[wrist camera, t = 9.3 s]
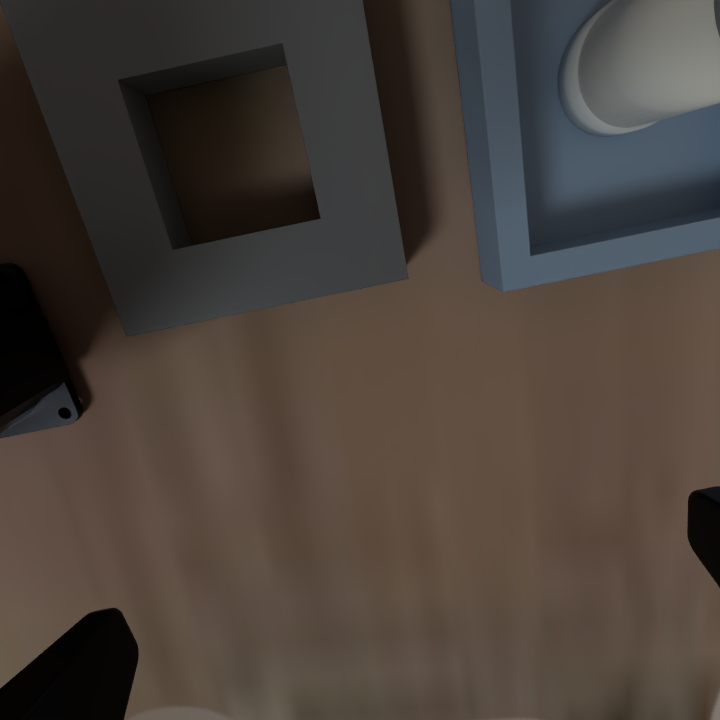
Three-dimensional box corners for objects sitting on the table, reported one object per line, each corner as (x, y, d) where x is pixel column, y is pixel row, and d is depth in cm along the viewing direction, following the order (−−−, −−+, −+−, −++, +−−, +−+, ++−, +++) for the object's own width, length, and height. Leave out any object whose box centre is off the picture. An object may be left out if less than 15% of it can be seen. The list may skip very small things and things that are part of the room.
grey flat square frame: (149, 323, 18) (126, 336, 16) (43, 26, 15) (-1, -2, 13) (401, 271, 17) (408, 278, 16) (348, -44, 14) (348, -83, 12)
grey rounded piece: (560, 147, 16) (760, 89, 8) (554, 19, 15) (778, -186, 7) (670, 124, 16) (976, 43, 8) (672, -7, 14) (1033, -245, 7)
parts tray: (482, 280, 18) (503, 292, 15) (437, -106, 14) (457, -171, 12) (741, 227, 17) (804, 230, 15) (768, -183, 14) (857, -266, 11)
